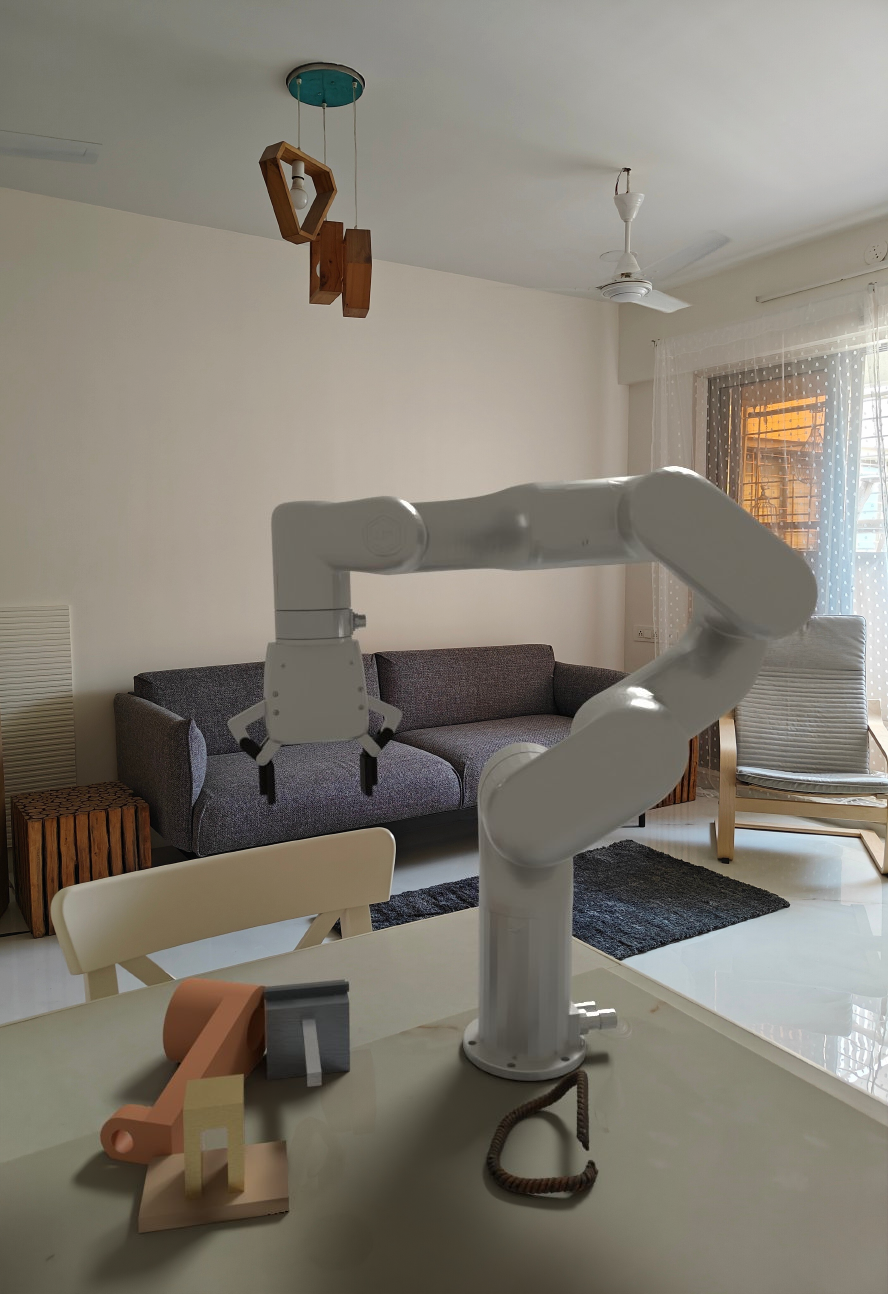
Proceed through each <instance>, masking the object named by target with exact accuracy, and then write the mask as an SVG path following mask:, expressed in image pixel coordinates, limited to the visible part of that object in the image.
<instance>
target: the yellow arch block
mask: <svg viewBox="0 0 888 1294" xmlns="http://www.w3.org/2000/svg"><path fill="white" fill-rule="evenodd" d="M245 1120H246V1119H245V1080H244V1074H240V1075H231V1076H222V1077H213V1078H204V1079H195V1080H187V1086H186V1093H185V1100H184V1107H183V1124H184V1164H185V1200H187V1199H194V1198H201V1197H202V1188H203V1177H204V1167H205V1152H204V1151H205V1130H207V1131H208V1130H213V1129H214V1130H215V1129H223V1128H226V1131H227V1132H226V1133H227V1137H226V1139H227V1143H226V1145H227V1148H228V1193H229V1194H231V1193H238V1192H244V1191H245V1145H246V1134H245V1133H246V1132H245V1131H246V1129H245V1128H246V1127H245V1124H246V1123H245Z"/></svg>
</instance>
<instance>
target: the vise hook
mask: <svg viewBox="0 0 888 1294" xmlns="http://www.w3.org/2000/svg"><path fill="white" fill-rule="evenodd" d="M348 992H350V981H349V980H348V981H346V980H345V979H334V980H323V981H315V982H304V983H303V982H301V983H293V984H292V983H291V984H281V985H271V986H266V989H264V1000H266V1044H267V1047H266V1080H267V1081H270V1080H278V1079H289V1078H297V1077H306V1084H307V1086H306V1087H317V1086H322V1075H324V1074H332V1073H333V1072H334V1073H341V1072H348V1071H349V1072H350V1071H351V1053H350V1052H351V1043H350V1041H351V1039H350V1037H351V1036H350V1033H351V1032H350V1026H351V1025H350V999H349V994H348ZM334 1073H333V1074H334Z"/></svg>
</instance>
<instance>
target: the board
mask: <svg viewBox="0 0 888 1294" xmlns="http://www.w3.org/2000/svg"><path fill="white" fill-rule="evenodd" d="M287 1149H288V1148H287V1140H279V1141H278V1140H277V1141H269V1142H268V1141H267V1142H261V1143H254V1144H245V1191H244V1192H238V1193H231V1194H229V1193H228V1147H223V1148H222V1147H221V1148H213V1149H206V1150H205V1149H204V1152H205V1167H204V1177H203V1188H202V1197H201V1198H194V1199H187V1200H185V1164H184V1153H181V1154H173V1155H165V1156H157V1157H150V1158H149V1164H148V1165H147V1169H146V1175H145V1181H144V1185H143V1191H142V1197H141V1201H140V1208H139V1213H138V1217H137V1219H138V1234H141V1233H142V1234H143V1233H150V1232H157V1231H164V1230H170V1229H178V1228H185V1227H191V1226H192V1227H193V1226H199V1225H207V1224H213V1223H220V1222H226V1221H235V1220H241V1219H248V1218H255V1217H256V1218H257V1217H263V1216H268V1214H270V1215H276V1214H275V1213H277V1214H280V1213H279V1212H284V1213H286V1212H285V1211H289V1212H290V1195H289V1193H290V1192H289V1172H288V1153H287Z"/></svg>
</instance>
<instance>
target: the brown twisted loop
mask: <svg viewBox="0 0 888 1294" xmlns="http://www.w3.org/2000/svg"><path fill="white" fill-rule="evenodd" d="M573 1087H576V1097H577V1099H576V1107H577V1108H576V1136H575V1137H576V1139H577V1140H578V1142H580V1143H581V1146H582V1148H583V1149H584V1150H585V1151H586V1152H589V1151H590V1117H589V1116H590V1115H589V1111H590V1109H589V1089H590V1088H589V1077H588V1074H587V1072H586V1071H585V1070H583V1069H577V1070H576V1069H575V1070H573V1071H572V1072H569V1073H568V1074H567V1075H564V1077H563V1078H561V1081H560V1082H559V1083H557V1085H555V1086H554V1088H552V1089H551V1090H550V1091H548V1092H547V1093H545V1094H543V1095H542V1096H538V1097H537V1098H533V1099H532V1100H529V1101H528V1102H527V1103H522V1104H521V1106H520V1105H519V1106H517V1107H516V1108H513V1109H512V1111H509V1112H508V1114H506V1115H505V1117H504V1118H502V1120H501V1121H500V1122H499V1125H497V1128H496V1129H495V1130H496V1131H495V1133H494V1135H493V1138H492V1139H491V1142H490V1146H489V1150H488V1152H487V1155H486V1165H487V1166H486V1167H487V1170H488V1173H489V1175H490V1176H491V1177H492V1179H493V1180H494V1181H495V1182H496V1184H498V1185H499V1186H501V1187H503V1189H505V1190H507V1189H508V1190H509V1191H511V1192H516V1193H517V1194H521V1193H522V1194H524V1195H525V1194H530V1195H542V1194H544V1195H546V1194H547V1195H548V1194H549V1193H550V1194H556V1193H557V1194H558V1193H567V1192H571V1193H572V1192H573V1193H574V1192H580V1191H582V1190H586V1189H587V1188H588V1187H590V1186H591V1185H593V1184H594V1183H595V1180H596V1179H597V1175H598V1173H599V1170H598V1168H597V1167H596V1162H595V1161H594V1160H592V1159H588V1161H587V1163H586V1165H585V1167H584V1170H583V1171H582V1172H581V1173H580V1174H576V1175H570V1176H567V1175H564V1176H558V1177H556V1176H553V1177H540V1178H536V1177H534V1178H527V1177H519V1176H517V1175H516V1176H515V1175H513V1174H511V1173H509V1172H507V1171H506V1170H505V1169H504V1168H502V1167H503V1166H501V1161H500V1160H501V1155H502V1152H503V1149H504V1145H505V1143H506V1141H507V1139H508V1135H509V1134H510V1132H511V1130H512V1129H513V1127H514V1126H515V1125H516V1124H518V1122H520V1121H521V1120H524V1118H528V1116H530V1115H532V1114H534V1113H537V1112H538V1111H541V1110H543V1109H545V1108H547V1107H551V1106H552V1105H553V1104H555V1103H557V1102H559V1101H560V1100H561V1099H562V1098H563V1097H564V1096H566V1094H567V1092H569V1091H570V1090H571V1089H572V1088H573Z"/></svg>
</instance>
